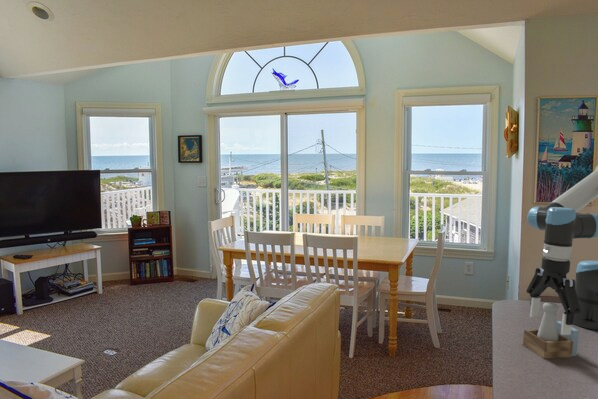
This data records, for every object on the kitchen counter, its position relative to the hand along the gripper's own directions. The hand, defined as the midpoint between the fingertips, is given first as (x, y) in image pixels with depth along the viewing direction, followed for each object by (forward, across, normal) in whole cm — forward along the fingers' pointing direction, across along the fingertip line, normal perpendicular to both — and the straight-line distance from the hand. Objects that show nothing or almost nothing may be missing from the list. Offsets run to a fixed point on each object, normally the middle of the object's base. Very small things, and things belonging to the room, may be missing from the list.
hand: (549, 325), depth 141 cm
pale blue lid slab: (+8, 0, +6) cm, 10 cm away
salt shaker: (+6, 0, 0) cm, 6 cm away
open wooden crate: (+8, 0, 0) cm, 8 cm away
